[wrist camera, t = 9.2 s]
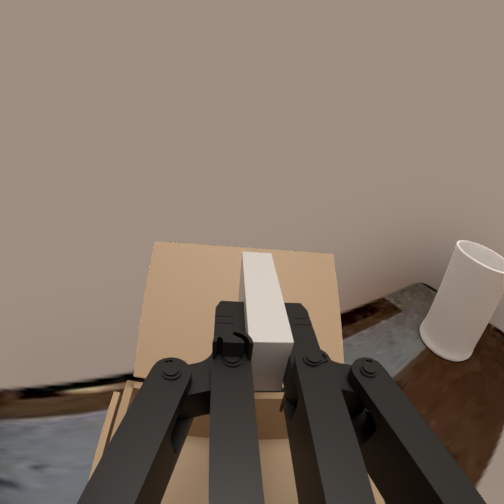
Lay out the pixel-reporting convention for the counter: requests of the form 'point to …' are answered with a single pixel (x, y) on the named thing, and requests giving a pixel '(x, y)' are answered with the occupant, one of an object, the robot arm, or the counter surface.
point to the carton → (197, 452)
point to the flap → (225, 298)
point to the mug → (464, 301)
